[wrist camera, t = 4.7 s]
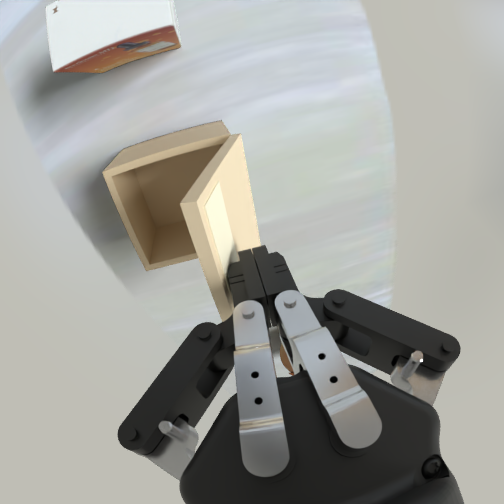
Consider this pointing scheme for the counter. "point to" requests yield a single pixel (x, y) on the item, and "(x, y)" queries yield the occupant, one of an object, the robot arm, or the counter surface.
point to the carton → (161, 190)
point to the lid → (222, 218)
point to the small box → (108, 32)
